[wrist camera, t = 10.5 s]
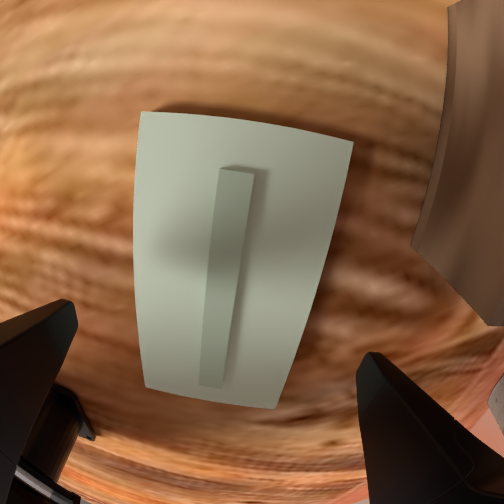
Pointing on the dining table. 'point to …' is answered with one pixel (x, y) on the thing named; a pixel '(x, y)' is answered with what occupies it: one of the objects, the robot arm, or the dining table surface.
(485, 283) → the box
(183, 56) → the dining table surface
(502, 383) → the thermos bottle
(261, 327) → the lid
